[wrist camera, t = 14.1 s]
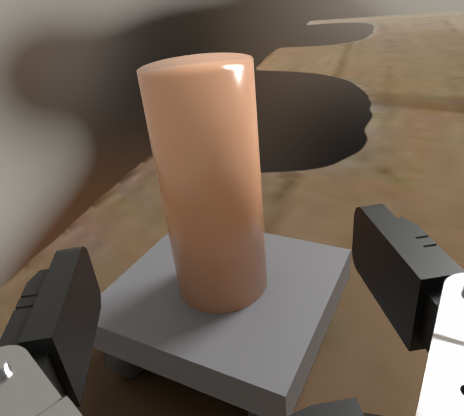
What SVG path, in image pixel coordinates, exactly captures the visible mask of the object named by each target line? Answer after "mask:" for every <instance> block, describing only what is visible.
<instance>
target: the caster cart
mask: <svg viewBox="0 0 464 416" xmlns="http://www.w3.org/2000/svg"><path fill="white" fill-rule="evenodd" d="M264 236H265V251H266V267H267V287H266V290H265V292H264V293H263V295H262V296H261V297H260V298H259V299H258V300H257V301H256V302H254V303H253V304H251V305H250V306H248V307H246V308H244V309H241V310H238V311H234V312H230V313H220V314H217V313H206V312H202V311H199V310H196V309H194V308H192V307H191V306H189V305H188V304H187V303H186V302H185V301H184V300H183V298H182V296H181V294H180V289H179V284H178V279H177V274H176V269H175V264H174V259H173V254H172V249H171V244H170V239H169V233H168V234H167V235H166V236H164V237H163V238H162V239H161V240H160V241H159V242H158V243H157V244H156V245H154V246H153V247H152V248H151V249H150V250H149V251H148V252H147V253H146V254H144V255H143V256H142V257H141V258H140V259H139V260H138V261H137V262H136V263H134V264H133V265H132V266H131V267H130V268H129V269H128V270H127V271H126V272H125V273H123V274H122V275H121V276H120V277H119V278H118V279H117V280H116V281H115V282H113V283H112V284H111V285H110V286H109V287H108V288H107V289H106V290H105V291H103V292H102V293H101V311H100V316H99V320H98V325H97V330H96V335H95V339H94V344H93V348H95V349H97V350H99V351H102V352H104V362H105V366H106V368H107V369H108V370H109V371H111V372H113V373H115V374H118V375H120V376H122V377H125V378H127V379H131V378H134V377H136V376H137V375H139V374H140V373H141V372H142V371H143V370H144V369H146V370H149V371H151V372H153V373H156V374H158V375H161V376H163V377H166V378H168V379H171V380H173V381H176V382H178V383H180V384H183V385H185V386H188V387H190V388H193V389H195V390H198V391H200V392H203V393H205V394H207V395H210V396H212V397H215V398H217V399H220V400H222V401H225V402H227V403H230V404H232V405H234V406H237V407H239V408H242V409H244V410H247V411H248V416H289V415H292V413H293V411H294V408H295V406H296V404H297V401H298V399H299V396H300V394H301V392H302V389H303V387H304V384H305V382H306V380H307V377H308V375H309V372H310V370H311V367H312V365H313V363H314V360H315V358H316V355H317V353H318V351H319V348H320V346H321V343H322V341H323V339H324V336H325V334H326V331H327V329H328V327H329V324H330V322H331V319H332V317H333V315H334V312H335V310H336V307H337V305H338V303H339V300H340V298H341V295H342V293H343V291H344V288H345V286H346V283H347V281H348V278H349V276H350V260H351V250H349V249H344V248H339V247H334V246H329V245H324V244H319V243H314V242H309V241H304V240H298V239H293V238H288V237H283V236H278V235H273V234H268V233H264Z"/></svg>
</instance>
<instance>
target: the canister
mask: <svg viewBox="0 0 464 416" xmlns="http://www.w3.org/2000/svg"><path fill="white" fill-rule="evenodd" d="M137 76H138V81H139V86H140V91H141V96H142V101H143V106H144V111H145V116H146V121H147V127H148V132H149V136H150V142H151V147H152V152H153V157H154V162H155V167H156V172H157V177H158V183H159V188H160V193H161V198H162V203H163V208H164V213H165V218H166V223H167V228H168V233H169V239H170V244H171V249H172V254H173V259H174V264H175V269H176V274H177V279H178V284H179V289H180V294H181V296H182V298H183V300H184V301H185V302H186V303H187V304H188V305H189V306H191V307H192V308H194V309H196V310H199V311H202V312H206V313H217V314H220V313H230V312H234V311H238V310H241V309H244V308H246V307H248V306H250V305H251V304H253V303H254V302H256V301H257V300H258V299H259V298H260V297H261V296H262V295H263V293H264V292H265V290H266V287H267V267H266V251H265V236H264V220H263V204H262V189H261V173H260V159H259V144H258V126H257V111H256V95H255V80H254V64H253V57H252V56H249V55H246V54H240V53H205V54H195V55H186V56H180V57H174V58H169V59H164V60H160V61H156V62H153V63H150V64H147V65H144V66H142V67H141V68H139V69H138V70H137Z"/></svg>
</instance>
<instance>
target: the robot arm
mask: <svg viewBox="0 0 464 416" xmlns="http://www.w3.org/2000/svg"><path fill="white" fill-rule="evenodd" d="M352 255H353V261H354V265H355V267H356V269H357V271H358V273H359V274H360V276H361V277H362V279H363V281H364V282H365V284H366V285H367V287H368V288H369V290H370V291H371V293H372V294H373V296H374V298H375V299H376V301H377V302H378V304H379V305H380V307H381V308H382V310H383V312H384V313H385V315H386V316H387V318H388V319H389V321H390V322H391V324H392V325H393V327H394V329H395V330H396V332H397V333H398V335H399V336H400V338H401V339H402V341H403V343H404V344H405V346H406V347H407V349H408V350H409V351H414V350H420V349H426V350H427V351H428V353H429V356H428V360H427V365H426V370H425V375H424V379H423V384H422V389H421V394H420V399H419V403H418V408H417V413H416V416H464V270H463V269H462V268H461V267H460V266H459V265H458V264H457V263H456V262H455V261H454V260H453V259H452V258H451V257H450V256H449V255H448V254H446V253H445V252H444V251H443V250H442V249H441V248H440V247H439V246H437V245H436V243H435V242H434V241H433V240H432V239H431V238H430V237H428V235H427V234H426V233H425V232H424V231H423V230H422V229H421V228H420V227H419V226H418V225H417V224H415V223H413V222H411V221H409V220H407V219H405V218H403V217H400V218H396V217H395V216H394V215H393V214H392V213H391V212H390V211H389V210H388V209H387V207H386V206H385V205H383V204H377V205H370V206H363V207H357V208H356V210H355V213H354V227H353V244H352ZM15 308H16V310H14V312H13V314H12V316H11V318H10V320H9V322H8V324H7V326H6V328H5V331H4V333H3V335H2V337H1V339H0V416H82V414H81V413H80V412H79V410H78V409H77V408H76V407H80V406H81V402H82V397H83V392H84V387H85V382H86V378H87V373H88V368H89V363H90V359H91V354H92V349H93V344H94V339H95V335H96V330H97V325H98V320H99V316H100V311H101V294H100V289H99V286H98V282H97V279H96V276H95V273H94V270H93V266H92V263H91V260H90V257H89V254H88V251H87V249H86V248H85V247H77V248H70V249H63V250H58V251H56V253H55V255H54V258H53V260H52V262H51V265H50V267H49V269H45V270H40V271H39V272H38V273H37V274H36V275H35V276H34V277H33V278H32V279H31V280H30V281H29V282H27V284H26V286H25V288H24V290H23V292H22V295H21V299H19V301H18V303H17V305H16V307H15ZM289 416H381V415H376V414H370V413H363V412H362V410H361V407H360V405H359V403H358V401H357V398H351V399H345V400H340V401H334V402H329V403H323V404H317V405H312V406H309V407H307V408H305V409H302V410H300V411H298V412H296V413H294V414H292V415H289Z"/></svg>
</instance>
